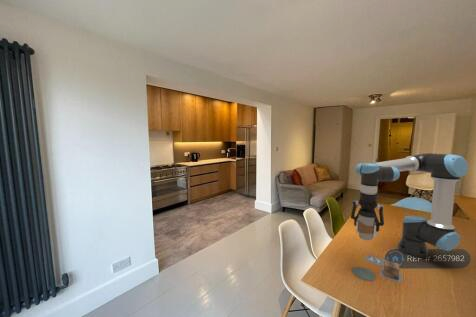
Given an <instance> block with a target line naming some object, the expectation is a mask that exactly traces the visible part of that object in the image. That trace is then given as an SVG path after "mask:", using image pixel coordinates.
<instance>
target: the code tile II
mask: <svg viewBox="0 0 476 317" xmlns="http://www.w3.org/2000/svg"><path fill="white" fill-rule="evenodd" d="M379 276H381V277H383V278H386V279H388V280H391V281H392V282H396V283H399V284H401V283H402V280H403V274H401V273H399V280H396V279H393V278H389V277H386V276H384V267H382V268H381V270H380V272H379Z"/></svg>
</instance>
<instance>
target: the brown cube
mask: <svg viewBox="0 0 476 317" xmlns="http://www.w3.org/2000/svg"><path fill="white" fill-rule="evenodd" d="M384 260H385V261H384V264H383V268H384V276H386V277H389V278H393V279H396V280H399V274H400V265H399V263H398V262H395V261H394V262H393V261H390V260H388V259H384Z"/></svg>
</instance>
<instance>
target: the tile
mask: <svg viewBox="0 0 476 317" xmlns="http://www.w3.org/2000/svg"><path fill="white" fill-rule="evenodd" d="M385 260H386V259H384V258H381V257H377V256H375V255H372V254H369V253H367V255H366V257H365V259H364V261H365V262H367V263H368V262H369V263H371V264H373V265H377V266H379V267H382V268H384V261H385Z"/></svg>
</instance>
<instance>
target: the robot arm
mask: <svg viewBox="0 0 476 317" xmlns="http://www.w3.org/2000/svg"><path fill="white" fill-rule="evenodd" d="M468 170H469V165H468V161H467V160H466V159H465V158H464V157H463V156H461V155H458V154H457V155H456V154H451V153H449V154H448V153H433V152H431V153H430V152H429V153H419V154H413V155H408V156H406V157H404V158H398V159H392V160H391V159H390V160H385V161H378V162H370V163H368V162H365V163H364V162H363V163H362V162H361V163H358V164H357V165H356V166H355V173H356V174H357V175H358V176H360V189H359V190H360V191H359V192H360V193H359V200H353V201H352V205H353V206H352V210H351V214H350V219H353V221H354V222H353V225H354V226H355V234H359V229H358V221H359V218H358V213H357V214H356V211H357V208H358V207H357V206H358V205H359V206H360V208H359V209H360V210H361V211H363V210H368V211H371V213H374V212H376V210H375V209H376V208H377V209H378V215H379V217H378V216H377V214H376V216H375V220H374V221H375V225H374V233H373V238H374V239H376V238H377V233H378V232H380V227H383V226H384V225H385V220H384V205H380V204H378V202H377V200H378V186H379V182H394V181H397V180H398V179H400V176H401V173H400V172H406V171H409V172H424V173H429V174H430V177H431V179H433V188H432V189H433V191H432V199H431V208H430V209H431V210H430V211H431V212H430V219H429V220H428V218H426V217H424V216H418V215H405V216H404V217H403V221H402V233H401V237H400V240H399V242H398V244H397V248H398V250H399V251H401V252H402V253H404V254H406V255H409V256H410V257H411V256H412V257H416V258H428V256H429V249H428V246H427V244H430V245H431V246H433V247H436V248H437V249H440V250H442V251H447V252H449V251H452V250H454V249H456V247H458V245H459V244H460V242H461V235H460V234H459V233H457V232H456V230H455V229H456V226H454V224H452V222H453V220H452V219H453V212H454V211H453V210H454V201H455V193H456V184H457V182H458V181H460V180H461V178H462V177H464V176H466V174H467V173H468ZM355 214H356V215H355Z"/></svg>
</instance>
